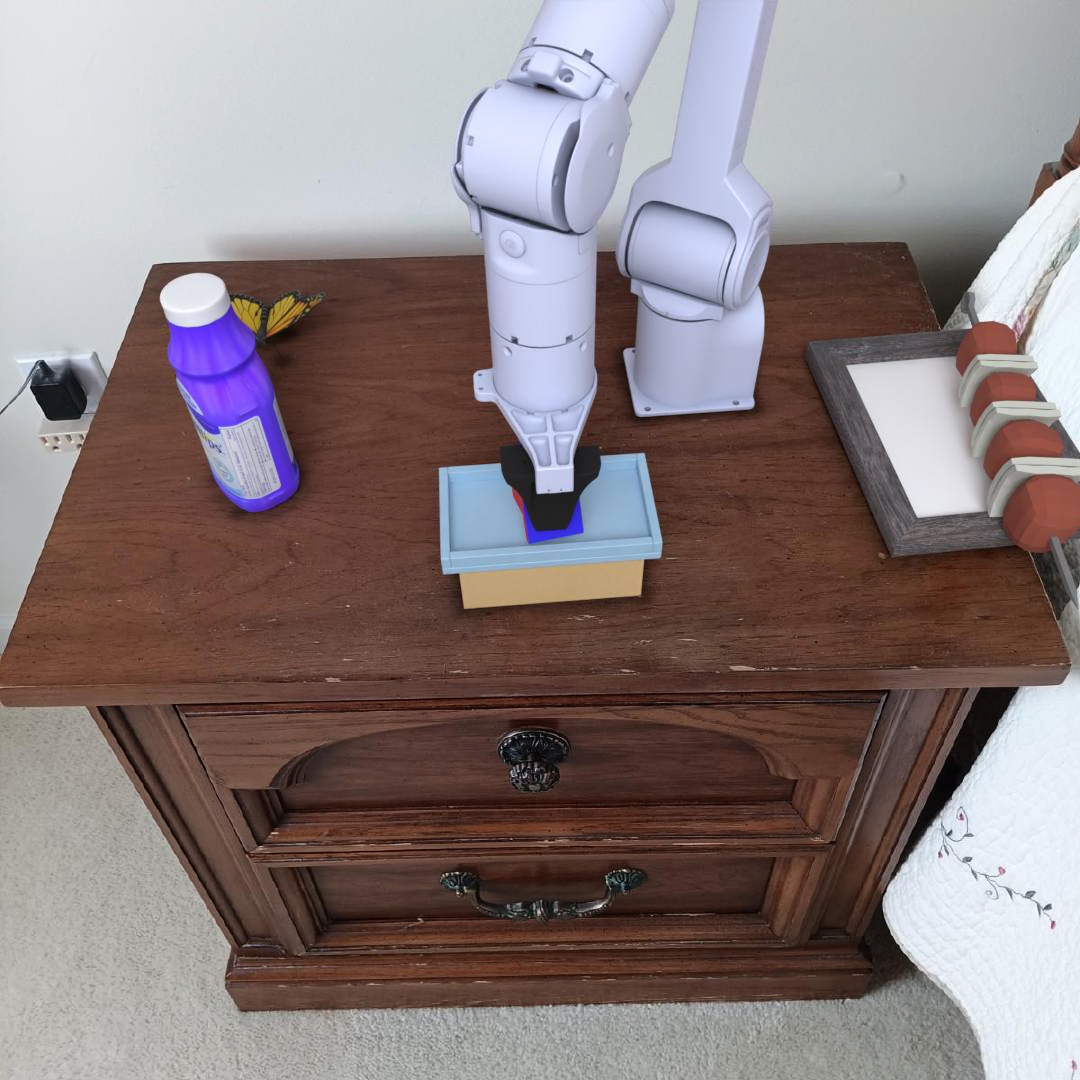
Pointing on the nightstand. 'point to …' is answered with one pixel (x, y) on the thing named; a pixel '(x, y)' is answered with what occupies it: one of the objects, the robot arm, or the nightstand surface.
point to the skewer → (1018, 442)
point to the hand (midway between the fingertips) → (546, 486)
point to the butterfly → (272, 313)
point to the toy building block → (540, 536)
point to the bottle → (228, 394)
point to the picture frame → (912, 439)
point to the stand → (555, 565)
